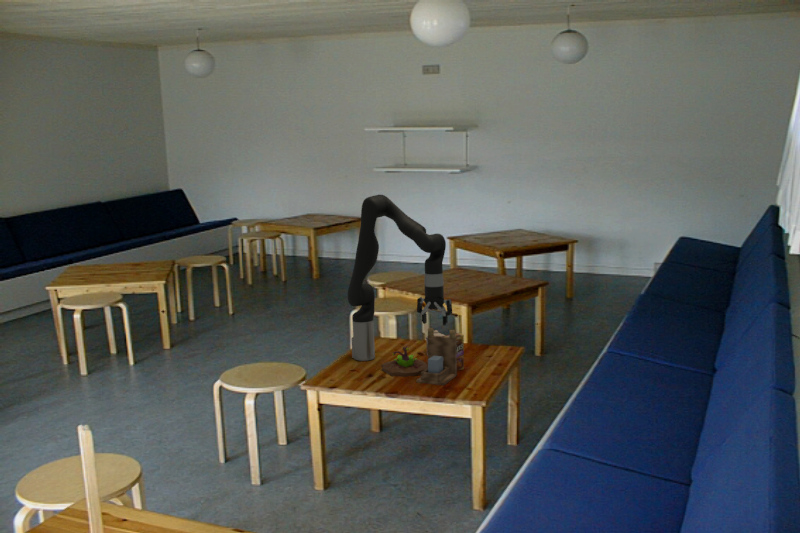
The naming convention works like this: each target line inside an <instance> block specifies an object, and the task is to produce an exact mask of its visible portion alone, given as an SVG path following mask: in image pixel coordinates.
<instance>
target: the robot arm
mask: <svg viewBox="0 0 800 533" xmlns="http://www.w3.org/2000/svg"><path fill="white" fill-rule="evenodd" d="M361 204H362V205H361V210H360V211H361V213H360V224H359V226H360V227H359V233H358V234H359V235H358V239H357V240H358V242H357V247H356V251H355V259H354V264H353V265H354V266H353V269H352V275H351V278H350V281H349V285H348V289H347V301H348V304H349V305H350V306H351V307H360V308H359V309H357V311H355V312H354V313H352V337H351V356H352V357H351V359H352V358H354V359H353V360H356V361H360V362H361V361H365V362H367V361H372V360H374V359H375V358H376V356H375V355H376V352H375V350H376V348H375V326H374V325H375V324H374V323H375V322H374V315H375V302H376V301H375V297H376V296H375V291H374V287H373V285H372V284H370V283H364V280H366V277H367V276H368V274H369V273H370V271H372V269H373V268H374V266H375V264H376V263H377V260H378V255H379V251H380V249H379V248H380V244H379V241H378V239H377V236H376V233H375V232H376V231H375V229H376V228H375V227H376V222H377V219H378V218H383V217H386V218H388V219H389V220H392V221H393V222H394V223H395V225H396V227H397V229H398V230H399V231H400V233H401V234H403V235H405V236H406V237H407V238H408V239H410V240H411V241H413V242H414V243H415V244H416V246H417V247H418V248H419V249H420V250H421V251H423V252H425V253H427V254H428V253H429V257H428V258H426V259H425V261H424V278H423V279H424V282H423V284H424V298H423V297H422V296H420V297H418V298H417V301H416V304H417V305H416V312H417V313H419V314H420V315H421V322H422V325H423V324H424V325H425V324H427V322H428V319H427V317H428V316H427V312H428V311H429V310H431V311H433V310H434V311H439V312H440V313H441V314H442V326H446V325H447V324H448V318H449V317H448V316H450V315H452V314H453V305H452V304H453V303H452V299H451V298H449V299H445V298H444V293H445V292H444V284H445V283H444V273H443V261H444V258H445V252H446V248H447V247H446V246H447V244H446V239H445V237H444V236H443V234H441V233H434V234H428V233H427V229H426V227H424V226H423V225H422V224H421V223H419V222H417V221H416V220H414V219H413V218H411V217H410V216H408V215H407V214H406V213H405V212H404V211H403V210H402V209H401V208H399V207H398V206H397V205H396V204H395V203H394V201H392V199H390V198H389V197H387V196H386V195H384V194H376V195H375V194H374V195H370V196H368V197H366V198H364V200H363V202H362V203H361ZM423 304H425V306H424V308H423ZM444 304H445V306H446V307H445V306H444Z"/></svg>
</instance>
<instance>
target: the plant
mask: <svg viewBox="0 0 800 533" xmlns="http://www.w3.org/2000/svg"><path fill="white" fill-rule="evenodd" d="M402 350H403V353H402V352H400V351H397V350H395V351H393V352H392V354H391V355H392V356H396V354H398V355H397V356H396V358H393V360H391V361H390V360H389V361H388V362H387V361H386V362H384V363H382V364H380V367H381V371H382V372H384V373H386V374H387V375H389V376H391V377H401V378H402V377H406V378H407V377H417V376H421V372H422V371H424V370H425V369H427V368H428V362H426V361H424V360H422V359H421V360H420V359H418V358H417V357H416V358H414V357H415V356H414V354H410V355H409V356H408V351H409V352H410V347H409V346H403V348H402Z"/></svg>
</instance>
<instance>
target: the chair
mask: <svg viewBox="0 0 800 533" xmlns="http://www.w3.org/2000/svg"><path fill="white" fill-rule="evenodd" d="M434 331H435V330H434V328H432V327H429V328H427V335H428V336H427V335H426V336H427V338H428V355H427V360H428V359H429V358H431V357H432V356H443V358H444V361H443V371H441V372H440V373H439V374H437V373H428V368H427V369H425V370H424V371H422V372H421V375H420V376H419V377H418V378H417V379H416V380H415V382H416V383H419V384H429V385H435V386H436V385H437V386H446V384H448V383H449V382H450V381H452V380H453V379H455V377H457V375H458V371H457V357H456V329H450V330H449V335H450V337H445V336H446V335H445V336H434Z"/></svg>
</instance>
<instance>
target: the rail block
mask: <svg viewBox="0 0 800 533" xmlns="http://www.w3.org/2000/svg"><path fill="white" fill-rule="evenodd" d="M443 361H444V358H443V356H432V357H431V358H429V359H428V358H427V365H428V373H437V374H439V373H440V372H441V371H443Z"/></svg>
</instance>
